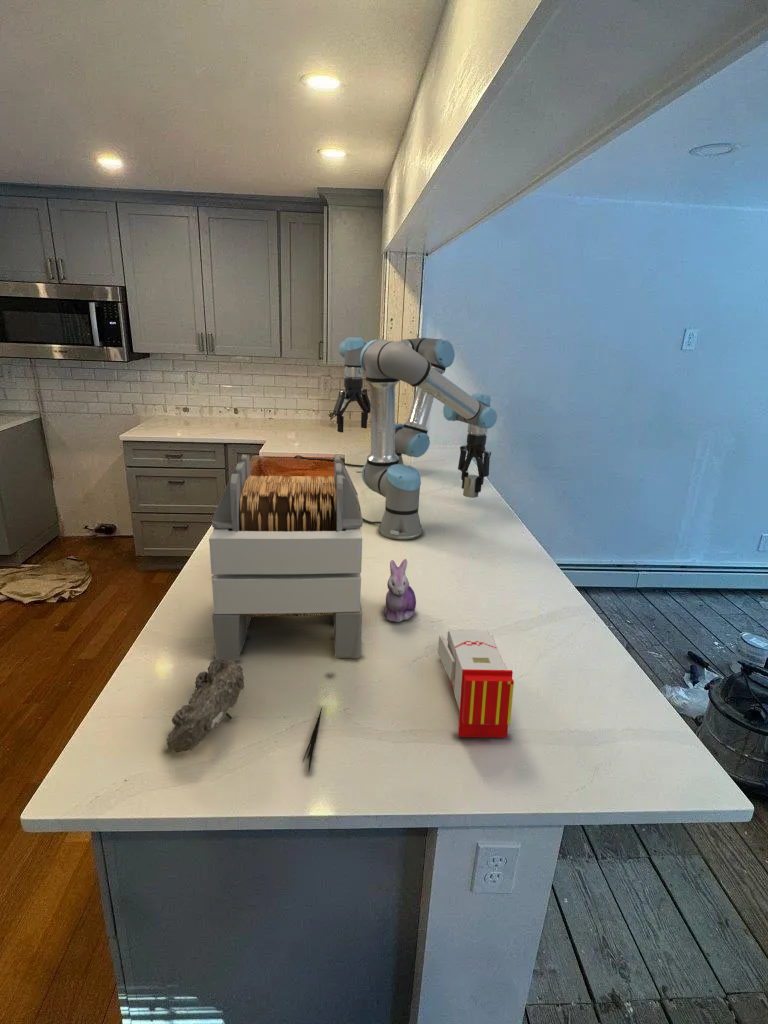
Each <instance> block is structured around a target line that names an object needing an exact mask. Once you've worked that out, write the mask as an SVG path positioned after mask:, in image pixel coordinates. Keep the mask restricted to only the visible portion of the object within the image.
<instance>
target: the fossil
mask: <svg viewBox="0 0 768 1024" xmlns="http://www.w3.org/2000/svg"><path fill="white" fill-rule="evenodd" d="M243 670H244V669H243V667H242V665H240V664H237V662H236V660H232V659H231V660H228V659H227V660H221V661H217V660H215V659H212V660H211V661H210V663H209V665H208V666H207V671H201V672H199V673H198V674H197V675H196V676H195V680H194V684H195V685H194V687H195V689H194V690H193V693H192V694H191V697H190V698H189V700H188V704H184V705H182V706H181V707H180V709H177V710H176V711H175V713H174V715H173V716H172V718H171V723H172V724H173V727H172V730H171V731H170V732H168V734H167V738H166V741H167V742H166V745H167V749H168V750H169V751H173V752H174V753H176V754H178V753H182V752H188V751H189V752H192V751H193V750H195V748H196V747H197V746H199V744H200V743H201V742H203V741H204V740H205V739H206V738H207V737H208V736H209V735H210V734H211V733H212V732H214V730H215V729H217V727H218V726H219V724H220V722H221V721H222V720H223V719H224V718H225V716H226V717H227V719H229V720H233V717H232V715H230V714H229V710H230V709H231V708H234V706H235V704H236V703H237V702H238V699H239V697H240V695H241V693H242V691H243V690H245V689H244V688H245V675H244V671H243Z"/></svg>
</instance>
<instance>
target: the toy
mask: <svg viewBox="0 0 768 1024" xmlns="http://www.w3.org/2000/svg"><path fill="white" fill-rule="evenodd" d="M446 640H447V643H446V641H445V639H444V636H443V635H442V634H439V637H438V646H437V656H438V657H439V659H440V661H441V663H442V666H443V668H444V670H445V672H446V674H447V677H448V679H449V681H450V684H451V687H452V690H453V693H454V697H455V701H456V705H457V708H458V711H459V714H458V715H459V716H458V730H457V731H458V732H457V737H458V738H508V731H509V726H510V725H511V717H512V707H513V697H514V696H513V695H514V684H515V680H514V679H513V673H514V671H513V670H512V669H508V667H507V665H506V662H505V661H504V659H503V658H502V655H501V653H500V651H499V649H498V647H497V643H496V639H495V637H494V635H493V634H491V632H490V631H489V629H467V628H466V629H465V628H463V629H461V628H460V629H459V628H448V630H447V639H446Z"/></svg>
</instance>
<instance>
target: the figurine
mask: <svg viewBox="0 0 768 1024" xmlns="http://www.w3.org/2000/svg"><path fill="white" fill-rule="evenodd" d="M407 567H408V559H406V558H404V559H403V560H402V561H401V563H400V565H399V566H398V565H397V563H396V562H395V561H394V560H393V559H391V560H390V561H389V570H390V576H389V578H388V579H387V589H388V591H387V592H386V594H385V595H386V596H385V607H384V615H385V616H386V620H387V621H391V622H395V623H400V622H402V621H406V620H409V619H410V618H411V617H413V616H414V615H415V610H416V606H417V597H416V593H415V591H414V590H413V587H411V586H410V582H409V579H408V577H407V574H406V571H407Z"/></svg>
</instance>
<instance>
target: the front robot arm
mask: <svg viewBox="0 0 768 1024" xmlns="http://www.w3.org/2000/svg"><path fill="white" fill-rule="evenodd" d="M369 341H370V342H368V343H367V344H366V345H365V346H364V347H363V349H362V351H361V354H360V363H361V366H362V368H363V371H365V382H366V383H367V384H368V385H369V388H370V392H369V393H370V395H369V396H370V404H371V411H370V453H369V455H368V456H366V462H365V464H364V465H365V466H364V467H362V470H361V479H362V481H363V483H364V484H365V486H366V487H367V488H368V489H370V490H371V491H372V492H374V493H377V494H378V495H380V496H382V497H384V498H385V504H384V505H385V507H384V508H385V509H384V513H383V515H382V519H381V521H372V520H367V519H365V518H364V517H362V519H363V522H365V523H367V524H369V525H379V527H378V533H379V534H380V535H381V536H382V537H385V538H387V539H389V540H395V541H410V540H415V539H418V538H420V537H421V536H422V535H423V525H422V524H421V518H420V515H419V507H420V506H419V505H420V494H421V493H420V492H421V484H422V481H421V473H420V471H419V470H418V469H417V468H416V467H413V466H412V465H406V464H404V463H403V464H404V465H403V464H399V457H398V456H397V455H396V454H395V423H396V386H397V384H399V383H400V381H401V382H404V383H406V384H407V385H410V386H411V387H413V388H417V387H420V388H421V389H423V390H424V391H426V392H427V393H429V394H430V395H432V396H433V397H434V399H436V400H437V401H439V402H440V403H442V404H443V409H442V414H443V417H444V419H445V420H447V422H448V421H449V422H456V421H457V422H458V421H459V422H462V423H465V424H468V425H467V436H466V445H461V446H459V451H460V452H459V453H460V454H459V460H458V465H457V470H458V471H460V472H461V477H460V479H461V489H463V490H464V480H465V476H466V475H470V474H469V467H470V466H471V463H472V460H473V458H475V461H476V467H477V474H478V475H477V476H478V477H477V481H476V490H475V493H478V494H479V493H481V492H482V486H483V485H484V481H485V477H489V476H490V458H491V456H492V451H488V450H486V443H487V434H488V429H491V428H492V427H494V426H495V425H496V422H497V420H498V414H497V413H498V412H497V411H496V409H494V408H493V407H491V402H492V401H491V396H490V395H489V394H487V393H480V392H479V393H475V392H474V393H472V394H471V395H470V394H469V393H467V392H466V391H465V390H464V389H462V388H461V387H459V386H458V385H457V384H455V383H454V382H452V381H451V380H450V379H449V378H447V377H446V376H445V375H443V374H440V373H439V372H437V371H436V370H435V369H433V368H432V367H431V363H430V362H429V361H428V360H427V359H425V358H424V357H423V356H421V355H420V354H419V353H417V352H416V351H415V350H413V349H412V348H410V347H409V346H407V345H406V344H404V343H401V342H394V340H388V339H381V338H379V339H373V340H369Z"/></svg>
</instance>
